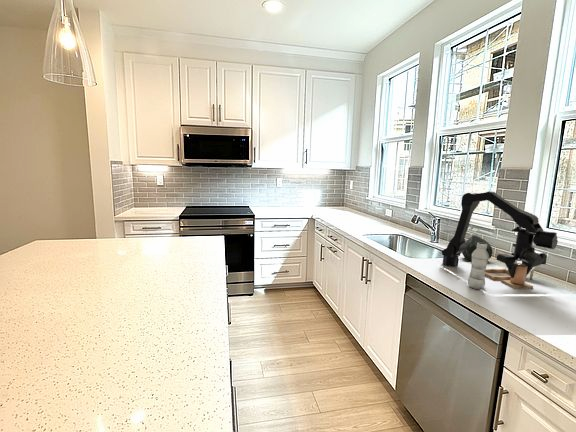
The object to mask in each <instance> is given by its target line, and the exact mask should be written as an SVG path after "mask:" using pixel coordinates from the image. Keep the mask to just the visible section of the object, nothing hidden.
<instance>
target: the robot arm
mask: <svg viewBox="0 0 576 432" xmlns="http://www.w3.org/2000/svg"><path fill="white" fill-rule="evenodd" d="M485 201H488V202H489V203H491V204H493V205H494V206H495V207H497V208H498V209H500V210H501V211H502V212H504V213H505V214H507V215H509V217H511V219H512V220H513V222H515V224H517V226H516V227H515V228H513V229H512V230H511V231H512V232H515V233H517V234H516V240H515V243H513V244H512V247H514V252H511V253H510V254H511V255H509V254H507V253H498V254H497V255H496V260H497V261H498V262H500V263H503V264H505V266H506V267H507V268H508V271H509V274H510V276H511V278H514V275H515V270H516V267H517V266H519V265H518V264H517V261H522V264H525V265H527V266H528V268H527V273H526V277H528V275H529V274H530V273H531V272H530V270H531V269H532V268H533V267H535V266H537V267H538V266H541V265H546V264H547V260H548V257H547V255H546V254H547V253H544V252H541V253H540V254H539V253H536V252H535V251H536V249H535V247H540V248H544V249H549V250H555V249H556V247H557V245H558V236H557V234H558V233H557V232H554V231H551V232H550V231H545V230H544V229H543V227H542V226H541V224H540V223H539V218H538V216H537V215H535V214H533V213H531V212H529V211H526V210H523V209H521V208H518V207H517V206H515V205H514V204H512V203H511V202H510V201H508V200H507V199H505V198H504V197H502V196H500V195H499V194H497V192H496V191H485V192H479V193H478V192H467V193H464V194H463V195H462V196H461V204H460V205H461V212H460V217H459V219H458V223H457V227H456V229H455V232H454V236H453V237H452V238H451V239H450V240H449V242H448V244H447V246H446V248H444V249H442V250H441V255H442V256H443V257H442V265H443V266H444V267H445V266H446V267H452V268H455V267H458V266H459V261H460V259H459V256H460V255H461V254H462V252H464V250H466V246H467V244H468V242H466V239H465V238H466V235H467V231H468V228H469V225H470V222H471V219H472V216H473V213H474V211H475V210H476V209H477V207H478V206H479V205H480V202H485ZM533 244H534V245H535V247H534V246H533ZM529 272H530V273H529ZM528 273H529V274H528Z"/></svg>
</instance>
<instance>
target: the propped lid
mask: <svg viewBox="0 0 576 432" xmlns="http://www.w3.org/2000/svg"><path fill="white" fill-rule="evenodd" d="M535 252H536V253H539V254H540V253H542V251H539V250H535ZM545 254H546V255H547V258H548V257H550V255H549V254H548V253H545ZM517 263H522V261H517ZM537 267H538V266H535V267H533V268H532V269H531V270H530V272H529V273H528V275H529V280H533V279H534V278H533V277H534V273H535V272H534V271H535V269H536V268H537ZM504 269H506V270H508V268H507V266H506V267H505V268H504Z"/></svg>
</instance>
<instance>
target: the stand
mask: <svg viewBox="0 0 576 432" xmlns="http://www.w3.org/2000/svg"><path fill="white" fill-rule="evenodd" d="M500 283H502V284H504V285H506V286H508V287H509V288H511V289H516V290H517V289H518V290H519V289H521V290H522V289H524V290H525V289H528V290H529V289H531V290H532V289H534V286H533V285H532V284H530V283H527V282H525V284H516V283H513V282H511V281H510V280H500Z"/></svg>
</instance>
